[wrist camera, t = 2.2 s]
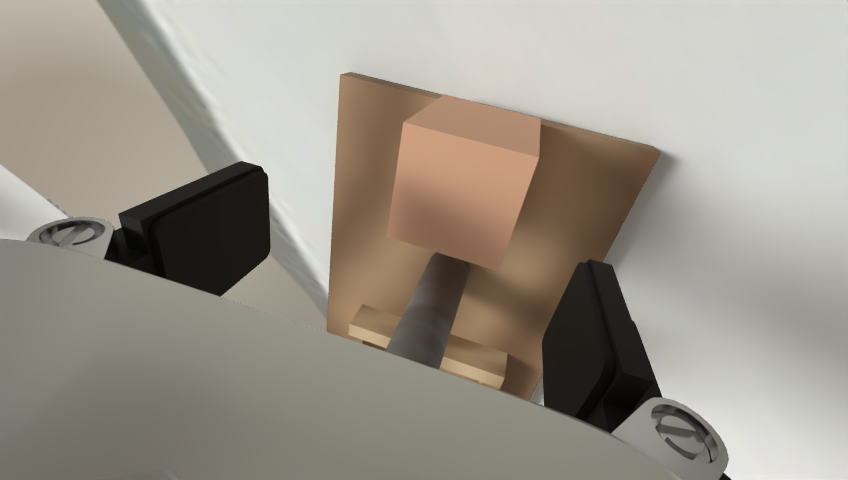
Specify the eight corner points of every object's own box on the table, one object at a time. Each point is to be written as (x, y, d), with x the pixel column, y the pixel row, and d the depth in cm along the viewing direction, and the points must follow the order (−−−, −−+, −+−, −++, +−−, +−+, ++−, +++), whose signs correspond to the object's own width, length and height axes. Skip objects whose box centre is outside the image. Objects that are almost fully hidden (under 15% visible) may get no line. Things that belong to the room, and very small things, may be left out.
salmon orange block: (540, 118, 17) (539, 157, 12) (510, 206, 19) (498, 271, 14) (444, 94, 17) (403, 122, 12) (426, 183, 20) (386, 236, 15)
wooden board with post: (653, 146, 17) (793, 300, 7) (502, 436, 30) (482, 632, 20) (350, 72, 19) (155, 117, 10) (330, 372, 32) (238, 522, 22)
